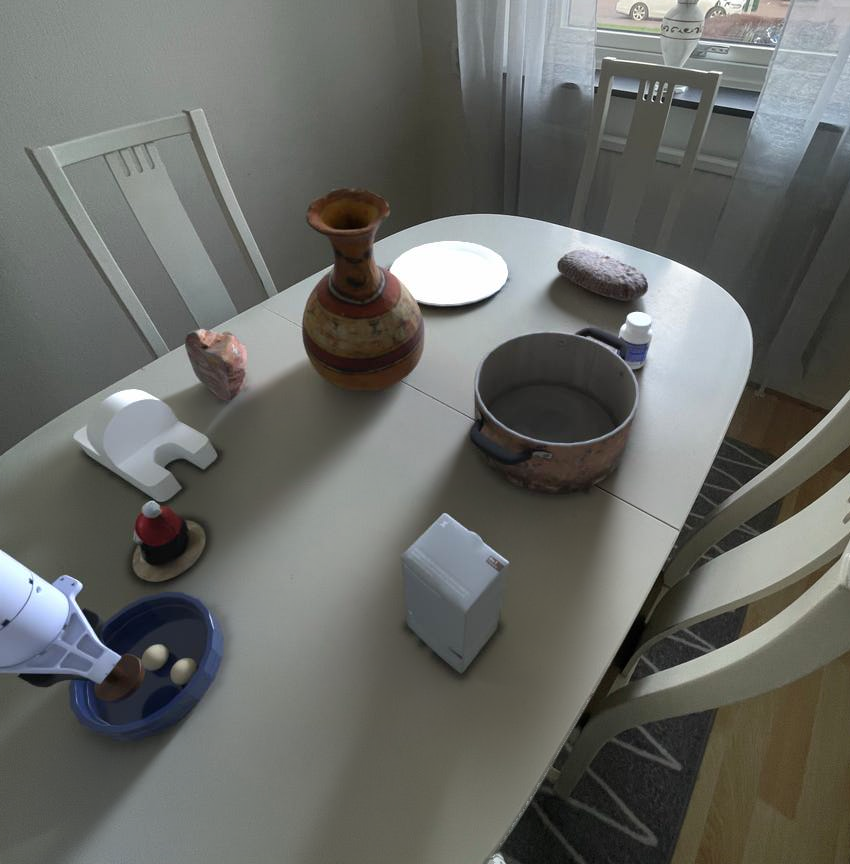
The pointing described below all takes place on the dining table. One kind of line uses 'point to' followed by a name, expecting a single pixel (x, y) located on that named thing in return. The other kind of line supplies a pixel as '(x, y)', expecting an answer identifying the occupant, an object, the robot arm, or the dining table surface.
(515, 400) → the saucepan
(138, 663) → the brown plunger
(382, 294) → the ceramic pitcher
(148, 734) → the bowl
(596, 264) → the decorative stone
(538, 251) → the dining table surface
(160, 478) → the tape dispenser
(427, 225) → the dining table surface
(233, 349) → the stone
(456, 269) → the plate
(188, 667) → the dumpling
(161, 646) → the dumpling
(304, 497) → the dining table surface
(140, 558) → the figurine
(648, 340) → the pill bottle
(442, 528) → the cosmetic box
